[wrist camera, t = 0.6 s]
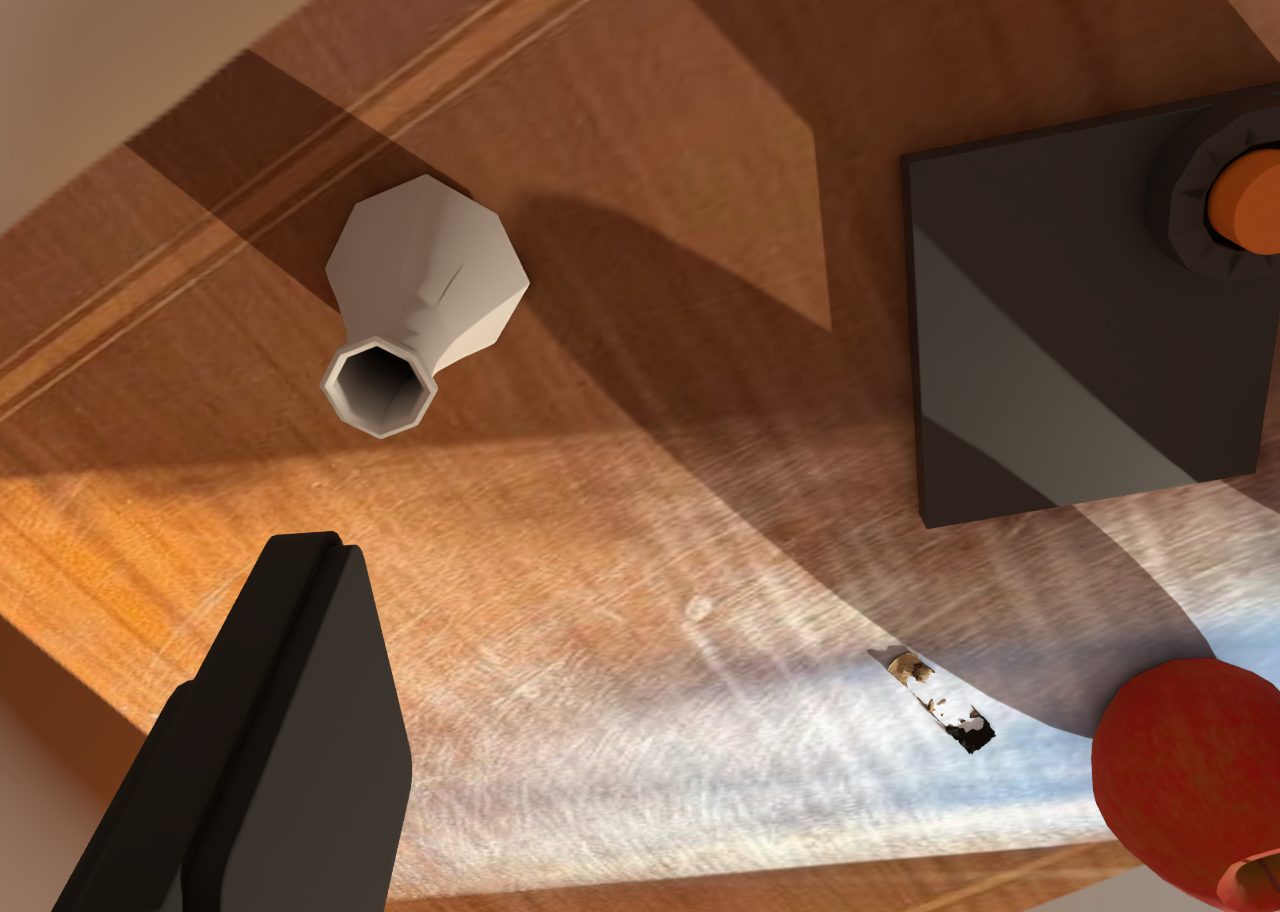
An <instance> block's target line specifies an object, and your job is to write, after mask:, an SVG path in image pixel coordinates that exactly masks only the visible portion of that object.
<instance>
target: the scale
mask: <svg viewBox="0 0 1280 912" xmlns="http://www.w3.org/2000/svg"><path fill="white" fill-rule="evenodd" d="M1260 149H1278V150H1280V82H1276V83H1271V84H1266V85H1261V86H1256V87H1250V88H1245V89H1240V90H1235V91H1230V92H1225V93H1220V94H1215V95H1209V96H1204V97H1199V98H1194V99H1189V100H1184V101H1179V102H1173V103H1168V104H1163V105H1158V106H1153V107H1148V108H1143V109H1137V110H1132V111H1127V112H1122V113H1117V114H1112V115H1107V116H1102V117H1096V118H1091V119H1086V120H1081V121H1076V122H1071V123H1066V124H1060V125H1055V126H1050V127H1045V128H1040V129H1035V130H1030V131H1024V132H1019V133H1014V134H1009V135H1004V136H999V137H994V138H988V139H983V140H978V141H973V142H968V143H963V144H958V145H953V146H947V147H942V148H937V149H932V150H927V151H922V152H917V153H911V154H906V155H902V156H901V174H902V194H903V213H904V232H905V251H906V270H907V289H908V308H909V327H910V346H911V365H912V384H913V403H914V423H915V442H916V461H917V480H918V499H919V515H920V517H921V519H922V521H923V523H924V525H925V527H926V528H927V529H931V528H937V527H943V526H949V525H954V524H960V523H966V522H972V521H978V520H984V519H990V518H995V517H1001V516H1007V515H1013V514H1019V513H1025V512H1031V511H1037V510H1042V509H1048V508H1054V507H1060V506H1066V505H1072V504H1078V503H1084V502H1089V501H1095V500H1101V499H1107V498H1113V497H1119V496H1125V495H1131V494H1136V493H1142V492H1148V491H1154V490H1160V489H1166V488H1172V487H1177V486H1183V485H1189V484H1195V483H1201V482H1207V481H1213V480H1219V479H1224V478H1230V477H1236V476H1242V475H1248V474H1254V473H1255V472H1256V466H1257V460H1258V453H1259V446H1260V440H1261V433H1262V426H1263V420H1264V413H1265V406H1266V400H1267V393H1268V386H1269V380H1270V373H1271V366H1272V360H1273V353H1274V347H1275V340H1276V333H1277V327H1278V320H1279V313H1280V253H1278V254H1271V255H1262V254H1256V253H1253V252H1250V251H1248V250H1246V249H1245V248H1243V247H1241V246H1239V245H1238V244H1236V243H1234V242H1232V241H1231V240H1229V239H1227V238H1225V237H1224V236H1222V235H1220V234H1219V233H1218V232H1217V231H1216V230H1215V229H1214V228H1213V226H1212V225H1211V223H1210V221H1209V217H1208V211H1207V205H1208V198H1209V195H1210V191H1211V189H1212V187H1213V185H1214V183H1215V181H1216V180H1217V178H1218V177H1219V175H1220V174H1221V173H1222V172H1223V171H1224V170H1225V169H1226V168H1227V167H1228V166H1229V165H1230V164H1231V163H1232V162H1234V161H1235V160H1236V159H1238V158H1240V157H1241V156H1243V155H1245V154H1247V153H1250V152H1252V151H1256V150H1260Z"/></svg>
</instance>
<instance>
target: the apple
mask: <svg viewBox="0 0 1280 912" xmlns="http://www.w3.org/2000/svg"><path fill="white" fill-rule="evenodd" d="M1091 762H1092V781H1093V792H1094V797H1095V801H1096V804H1097V806H1098V808H1099V810H1100V812H1101V814H1102V816H1103V818H1104V820H1105V822H1106V824H1107V826H1108V827H1109V828H1110V830H1111V831H1112V832H1113V833H1114V835H1115V836H1116V837H1117V838H1118V839H1119V841H1120V842H1121V843H1122V844H1123V845H1124V847H1125V848H1126V849H1128V850H1129V851H1130V852H1131V853H1132V854H1134V855H1135V856H1136V857H1137V858H1138V859H1139V860H1141V861H1142V862H1143V863H1144V864H1145V865H1147V866H1148V867H1149V868H1150V869H1151V870H1152V871H1154V872H1155V873H1156V874H1157V875H1158V876H1160V877H1161V878H1162V879H1163V880H1164V881H1166V882H1168V883H1169V884H1171V885H1173V886H1174V887H1176V888H1178V889H1179V890H1181V891H1182V892H1184V893H1186V894H1187V895H1189V896H1191V897H1193V898H1196V899H1198V900H1200V901H1202V902H1204V903H1206V904H1208V905H1211V906H1213V907H1216V908H1218V909H1221V910H1223V911H1225V912H1273V911H1277V910H1280V691H1279V690H1278V689H1277V688H1276V687H1275V686H1274V685H1273V684H1272V683H1271V682H1269V681H1267V680H1265V679H1264V678H1262V677H1260V676H1259V675H1257V674H1255V673H1253V672H1251V671H1248V670H1245V669H1243V668H1240V667H1237V666H1234V665H1231V664H1228V663H1226V662H1223V661H1220V660H1217V659H1214V658H1211V657H1209V658H1188V659H1172V660H1170V661H1168V662H1165V663H1163V664H1161V665H1159V666H1156V667H1154V668H1152V669H1149V670H1147V671H1145V672H1142V673H1140V674H1138V675H1136V676H1135V677H1133V678H1132V679H1131V680H1130V681H1128V682H1127V683H1126V684H1125V685H1123V686H1122V687H1121V688H1120V690H1119V691H1118V692H1117V694H1116V695H1115V697H1114V698H1113V700H1112V701H1111V702H1110V704H1109V705H1108V707H1107V708H1106V710H1105V711H1104V713H1103V716H1102V718H1101V721H1100V724H1099V726H1098V729H1097V732H1096V734H1095V737H1094V739H1093V742H1092V755H1091Z"/></svg>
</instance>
